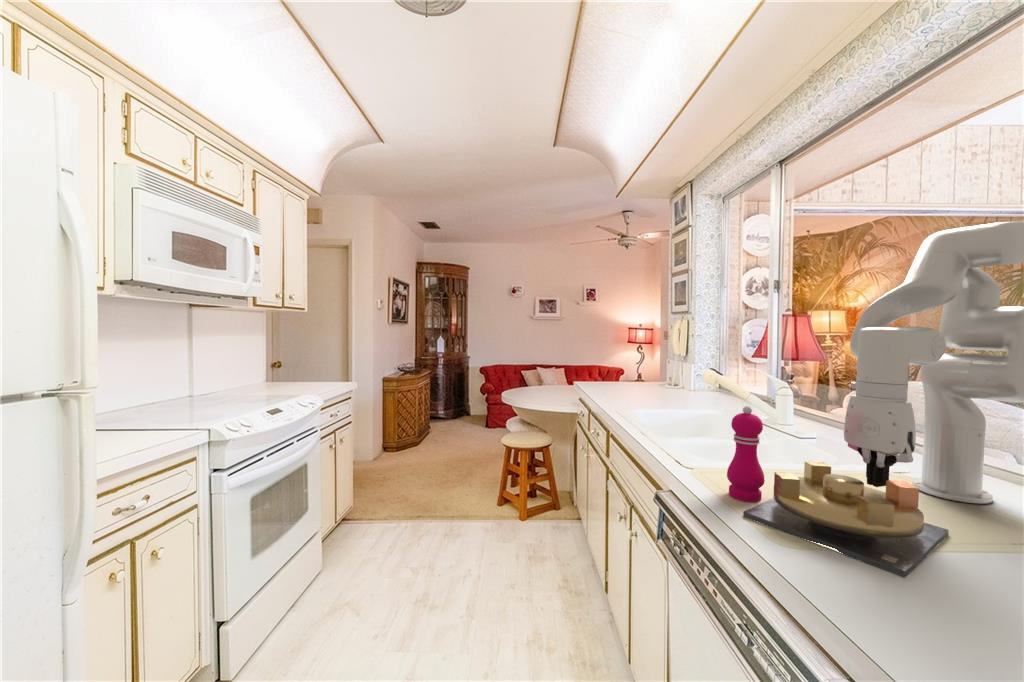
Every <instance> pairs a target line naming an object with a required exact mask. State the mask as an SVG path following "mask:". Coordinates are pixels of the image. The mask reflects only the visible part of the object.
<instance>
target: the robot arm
mask: <svg viewBox="0 0 1024 682" xmlns="http://www.w3.org/2000/svg"><path fill="white" fill-rule="evenodd" d="M1021 263H1024V220H1017V221H1001V222H992V223H987V224H986V223H985V224H979V225H972V226H963V227H958V228H951V229H946V230H941V231H937V232H935V233H933V234H931V235H929V236H928V237H927V238H925V239H924V240H923V242H922V244H921V245H920V247H919V249H918V251H917V253H916V256H915V258H914V259H913V262H912V265H911V267H910V269H909V270H908V273H907V274H906V276H905V277H906V278H904V281H903V283H902V284H901V285H899V286H897V287H895V288H894V289H892V290H889V291H888V292H886V293H885V294H883V295H882V296H881V297H879V298H878V299H876V300H875V301H873V302H872V303H870V304H869V305H868V306H867V307H866V308H865V309H864V310H863V312H862V313H861V315H860V316H859V318H858V320H857V323H856V324H855V326H854V329H853V331H852V334H851V336H850V341H849V348H850V351H851V353H852V355H853V356H854V357H855V358H857V359H856V360H857V361H856V379H855V381H851V383H850V388H851V389H855V394H852V395H851V396H850V398H849V401H848V404H847V407H846V412H845V416H844V417H845V418H844V424H843V440H844V441H845V443H847V447H848V448H850V449H852V450H854V451H855V452H857V453H858V454H859V455H860V456H861V457H862V461H863V463H865V464H866V469H865V473H866V474H865V477H866V484H867V485H869V486H872V487H876V488H881V487H886V480H890V467H893V466H894V465H895V464H897V463H906V464H907V463H913V462H914V457H913V453H914V452H915V450H916V449H915V448H916V443H917V442H916V421H915V413H914V409H913V405H912V402H911V401H909V400H908V390H909V389H908V388H909V368H910V367H909V366H910V365H912V366H921V367H920V379H921V382H922V388H923V394H924V395H923V396H924V421H923V425H924V426H923V442H922V443H923V444H922V461H921V464H922V465H921V477H916V478H914V479H912V484H911V485H913V486H915V487H917V488H919V492H920V491H921V492H923V493H925V494H928V495H930V496H934V497H937V498H941V499H945V500H950V501H951V500H952V501H956V502H959V503H967V504H979V505H980V504H989V503H992V502H993V494H992V493H990V492H988V491H987V490H984V489H983V484H984V483H983V479H984V459H985V445H986V444H985V443H986V425H987V424H986V423H987V421H986V417H985V415H984V413H983V412H982V410H981V409H980V408H979V407H978V405H977V404H976V403H975V402H974V401H973V400H972V399H978V400H979V399H980V400H988V401H989V400H990V401H995V402H1006V403H1015V404H1016V403H1018V404H1019V403H1024V306H999V305H1000V299H1001V293H1002V288H1001V284H999V282H998V281H997V280H996V279H995V278H994V277H992V276H991V275H990V274H989V273H987V272H986V271H985V270H983V269H981V268H983V267H995V266H996V267H997V266H1004V265H1006V266H1007V265H1016V264H1021ZM940 306H943V307H942V310H941V311H942V312H941V318H940V321H939V328H938V330H936V329H934V328H931V327H927V326H903V325H901V326H899V325H898V326H897V325H896V326H895V325H893V326H891V325H890V324H892V323H894V322H895V321H898V320H900V319H902V318H904V317H907V316H911V315H914V314H919V313H921V312H926V311H929V310H932V309H934V308H937V307H940ZM947 348H951V349H956V350H957V349H958V350H968V351H969V350H972V351H993V352H994V351H995V352H1006V353H1007V355H996V354H995V355H994V354H979V353H958V352H957V353H956V352H949V353H948V352H946V349H947Z"/></svg>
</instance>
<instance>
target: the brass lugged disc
mask: <svg viewBox="0 0 1024 682" xmlns="http://www.w3.org/2000/svg"><path fill="white" fill-rule="evenodd" d="M803 467H804V469H803V471H804V472H803V476H799V477H798V476H796V475H794V474H793V473H792V472H779V471H778V472H777V471H774V473H773V474H774V479H773V480H774V481H773V483H774V484H773V496H772V497H773V498H774V499H775V501H776V502H777V503H778V504H779V505H780V506H781V507H783V508H784V509H786V510H787V511H789V512H791V513H793V514H795V515H797V516H799V517H801V518H804V519H806V520H809V521H811V522H814V523H817V524H820V525H823V526H826V527H830V528H833V529H837V530H841V531H845V532H849V533H854V534H859V535H866V536H873V537H882V538H908V537H913V536H917V535H919V534H921V533H922V532H923V528H924V523H925V518H924V517H925V515H924V513H923V512H922V511H921V509H919V497H920V490H919V488H917V487H915V486H913V485H912V484H911V483H909V482H908V481H905V480H894V479H892V480H891V479H889V480H886V486H885V491H881V490H878V489H876V488H873V487H869V486H866V485H865V483H864V482H863V481H862V480H860V479H858V478H855V477H851V476H848V475H842V474H837V473H836V474H832V466H831V465H829V464H827V463H826V462H824V461H817V460H816V461H812V460H804V466H803Z"/></svg>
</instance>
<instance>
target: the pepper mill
mask: <svg viewBox="0 0 1024 682" xmlns="http://www.w3.org/2000/svg"><path fill="white" fill-rule="evenodd" d="M752 412H753V409H752V407H751V406H748V405H745V406H744V407H743V408H742V412H741V413H738V414H735V415H734V416H733V418H732V419H731V426H730V427H731V429H732V430H733V431H734V433H733V441H734V442H735V452H734V455H733V458H732V460H731V462H730V463H729V465H728V468H727V472H726V478H727V480H728V481H729V483H731V484H730V485H728V495H729V497H731V498H733V499H735V500H737V501H741V502H745V503H746V502H747V503H758V502H760V501H762V495H763V493H762V490H761V488H762V487H763V486H764V485H765V474H764V471H763V469H762V466H761V464H760V461H759V458H758V452H757V451H758V445H760V444H761V443H760V439H761V438H760V436H759V435H761V433H762V432H763V429H764V426H763V424H764V423H763V421H762V419H761V418H760V417H759V416H758V415H755V414H754V413H752Z"/></svg>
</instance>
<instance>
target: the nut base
mask: <svg viewBox="0 0 1024 682" xmlns="http://www.w3.org/2000/svg"><path fill="white" fill-rule="evenodd" d="M742 513H743V517H744V518H746V519H749V520H751V519H752V520H751V521H754V520H755V521H754V522H757V521H758V522H757V523H759V522H760V523H759V524H762V523H763V524H762V525H764V526H767V525H768V526H767V527H770V528H772V527H773V529H775V530H778V531H780V530H781V531H780V532H783V531H784V533H785V534H788V533H789V534H788V535H790V536H793V535H794V536H793V537H796V536H797V537H796V538H799V537H800V538H799V539H801V538H803V539H802V540H804V539H806V540H805V541H807V540H809V541H813V542H816V543H820V544H823V545H826V546H829V547H832V548H835V549H837V550H838V551H839V552H841V553H843V554H845V555H844V556H846V555H848V556H847V557H849V556H850V557H849V558H851V557H853V558H852V559H854V558H855V559H854V560H856V559H857V560H856V561H859V560H860V561H859V562H862V563H865V564H867V565H870V566H873V567H874V568H878V569H880V570H882V571H885V572H889V573H891V574H893V575H896V576H899V577H901V578H904V579H905V578H907V577H908V576H909V575H910V574H911V573H912V572H913V571H914V570H916V568H917V567H918V566H919V565H920V564H921V563H922V562H923V561H925V559H926V558H927V557H928V556H929V555H930V554H931V553H932V552H933V551H934V550H935V549H936V548H937V547H938V546H939V545H940V544H941V543H942V542H943V541H944V540H945V539H946V538H947V537H948V536H949V529H947V528H945V527H944V528H943V527H940V526H938V525H933V524H930V523H926V522H924V528H923V532H922V533H921V534H919V535H917V536H913V537H908V538H882V537H873V536H866V535H859V534H854V533H849V532H845V531H841V530H837V529H833V528H830V527H826V526H823V525H820V524H817V523H814V522H811V521H809V520H806V519H804V518H801V517H799V516H797V515H795V514H793V513H791V512H789V511H787V510H786V509H784V508H783V507H781V506H780V505H779V504H778V503H777V502H776V501H775V499H774V497H773V498H771V499H768V500H766V501H764V502H762V503H759V504H757V505H754V506H753V507H750V508H748V509H746V510H744V511H743V512H742ZM944 538H945V539H944ZM943 539H944V540H943ZM942 540H943V541H942ZM809 541H808V542H809ZM941 541H942V542H941ZM940 542H941V543H940ZM939 543H940V544H939ZM938 544H939V545H938ZM937 545H938V546H937ZM936 546H937V547H936ZM935 547H936V548H935ZM934 548H935V549H934ZM933 549H934V550H933ZM932 550H933V551H932ZM931 551H932V552H931ZM930 552H931V553H930ZM841 553H840V554H841ZM929 553H930V554H929ZM843 554H842V555H843ZM928 554H929V555H928ZM927 555H928V556H927Z"/></svg>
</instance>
